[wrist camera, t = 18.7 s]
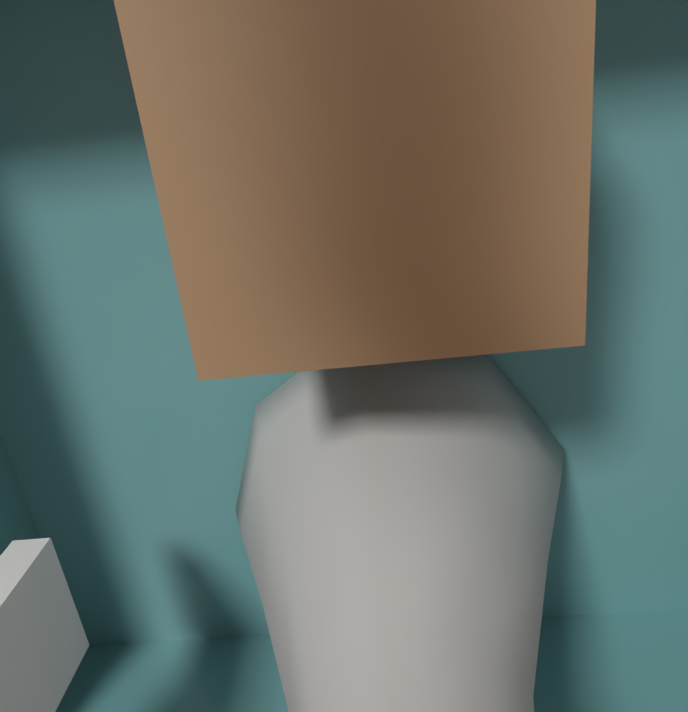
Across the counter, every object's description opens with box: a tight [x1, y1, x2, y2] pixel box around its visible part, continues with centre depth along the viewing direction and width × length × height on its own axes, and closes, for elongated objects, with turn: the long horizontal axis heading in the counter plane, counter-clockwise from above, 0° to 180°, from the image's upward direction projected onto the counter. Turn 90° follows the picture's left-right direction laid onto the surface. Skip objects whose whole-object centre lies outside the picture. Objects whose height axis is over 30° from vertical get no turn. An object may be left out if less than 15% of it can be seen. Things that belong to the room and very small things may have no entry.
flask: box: [235, 355, 564, 712], centre depth 10 cm, size 7×7×10 cm
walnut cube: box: [114, 0, 596, 381], centre depth 9 cm, size 5×5×5 cm
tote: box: [0, 0, 688, 712], centre depth 11 cm, size 20×18×5 cm
